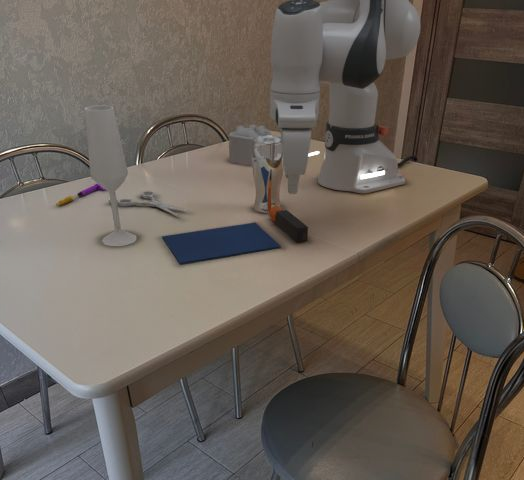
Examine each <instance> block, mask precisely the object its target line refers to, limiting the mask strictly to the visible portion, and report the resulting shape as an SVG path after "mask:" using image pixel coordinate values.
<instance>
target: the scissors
mask: <svg viewBox="0 0 524 480" xmlns="http://www.w3.org/2000/svg"><path fill="white" fill-rule="evenodd" d="M140 196H141V198H142V199H149V200H151V201H136V200H133V199H132V198H120V199H117V206H120V207H131V206H138V207H140V206H141V207H142V206H147V207H154V208H155V207H157V208H158V209H160V210H163V211H165V212H167V213H169V214H171V215H174V216H175V217H179V218H181V216H180V215H179V214H177V213H175V211H172V210H170V209H173V210H181V211H185V212H190V210H189V209H186V208H181V207H177V206H173V205H169V204H163V203H162V202H161V201H158V200H156V195H155V192H154V191H152V190H144V191H141V193H140ZM108 204H110V205H111V202H110V199H109V200H108Z"/></svg>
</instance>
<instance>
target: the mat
mask: <svg viewBox="0 0 524 480" xmlns="http://www.w3.org/2000/svg"><path fill="white" fill-rule="evenodd" d="M161 238H162V240H163V241H164V243H165V244H166V246H167V247H168V249H169V250H170V252H171V253H172V255H173V256H174V258H175V260H176V261H177V262H178V264H179V265H186V264H193V263H199V262H204V261H210V260H211V261H212V260H217V259H223V258H227V257H228V258H229V257H234V256H240V255H246V254H252V253H258V252H263V251H264V252H265V251H270V250H271V251H272V250H275V249H282V245H281V244H279V243H278V241H277V240H275V239H274V238H273V237H272V236H271V235H270V234H269V233H267V231H266V230H265V229H263V228H262V227H261V226H260V225H259V224H258V223H256V222H248V223H242V224H235V225H227V226H221V227H216V228H210V229H202V230H196V231H189V232H188V231H187V232H182V233H175V234H169V235H162V236H161Z"/></svg>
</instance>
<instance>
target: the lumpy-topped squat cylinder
mask: <svg viewBox="0 0 524 480" xmlns="http://www.w3.org/2000/svg"><path fill="white" fill-rule="evenodd" d="M265 135H270V136H272V132H271V130H269V129H267V128H266V127H265V126H264V125H259V126H257V125H256V124H250V125H249V126H248V127H245V126H244V125H238V126H236V127H235V130H234V131H231V132H230V133H229V134H228V157H229V159H228V160H229V163H231V164H237V165H238V164H239V165H243V166H248V167H249V166H250V167H252V147H253V138H254V137H257V136H265Z"/></svg>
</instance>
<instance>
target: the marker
mask: <svg viewBox="0 0 524 480" xmlns="http://www.w3.org/2000/svg"><path fill="white" fill-rule="evenodd" d="M268 216H269V218H270V219H271V220H272V221H273V222H274V223H275V226H276V227H277V228H278V229H280V230H281V231H282V232H283V233H284V234H286V235H287V236H288V237H289V238H290V239H291V240H292V241H294V242H295V243H296V244H299V243H303V242H308V236H309V235H308V234H309V233H308V232H309V226H308V225H307V224H305V223H304V222H303V221H301V220H300V218H298V217H297V216H295V215H294V214H292V213H291V212H290V211H289V210H287V209H283V208H282V207H281V208H280V207H279V206H274V207H272V208H271V209H270V211H269V213H268Z"/></svg>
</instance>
